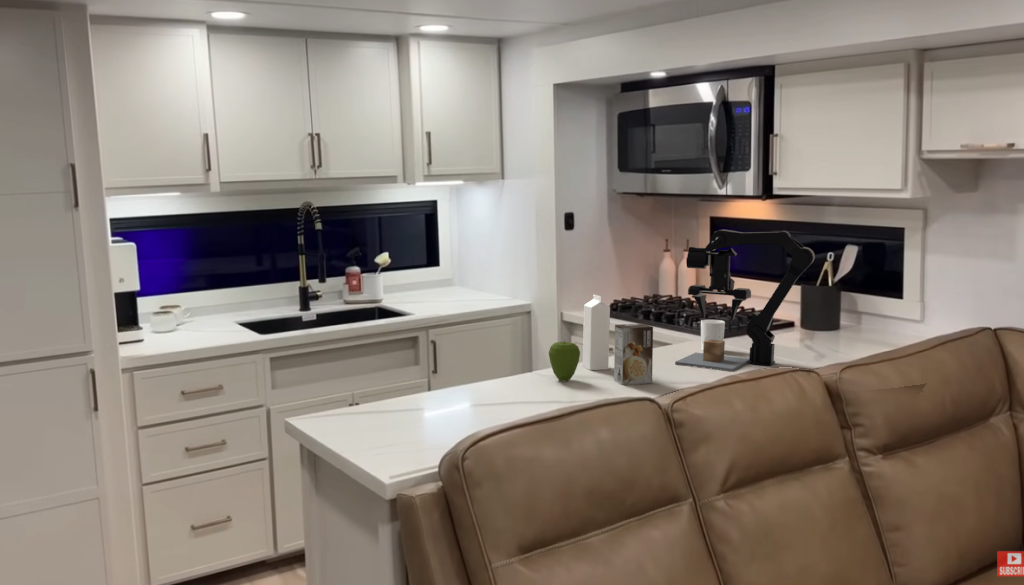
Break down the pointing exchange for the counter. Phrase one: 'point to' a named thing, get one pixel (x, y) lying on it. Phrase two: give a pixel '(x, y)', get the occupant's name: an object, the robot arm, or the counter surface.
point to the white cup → (711, 331)
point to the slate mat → (726, 364)
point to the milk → (596, 334)
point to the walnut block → (713, 350)
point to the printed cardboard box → (633, 354)
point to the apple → (564, 359)
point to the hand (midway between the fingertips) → (718, 318)
